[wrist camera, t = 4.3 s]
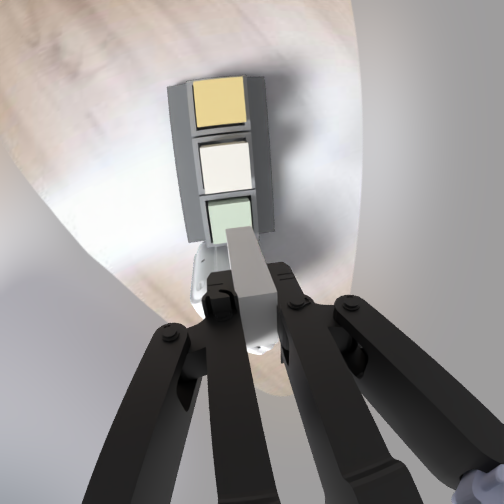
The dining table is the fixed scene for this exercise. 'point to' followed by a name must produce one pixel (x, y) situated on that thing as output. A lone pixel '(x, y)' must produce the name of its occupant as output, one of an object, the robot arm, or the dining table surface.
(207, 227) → the keypad
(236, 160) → the key ivory
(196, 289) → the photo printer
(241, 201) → the key sage
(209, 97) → the key ochre
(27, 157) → the dining table surface
